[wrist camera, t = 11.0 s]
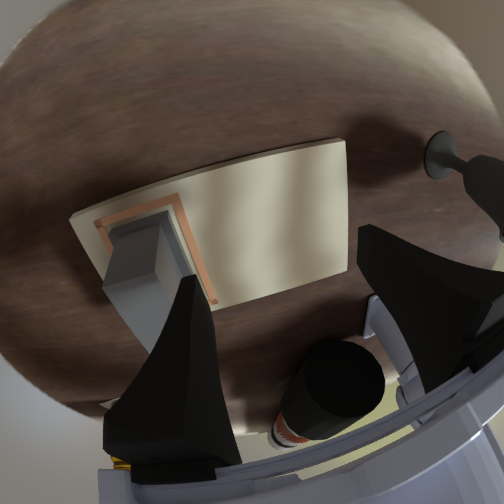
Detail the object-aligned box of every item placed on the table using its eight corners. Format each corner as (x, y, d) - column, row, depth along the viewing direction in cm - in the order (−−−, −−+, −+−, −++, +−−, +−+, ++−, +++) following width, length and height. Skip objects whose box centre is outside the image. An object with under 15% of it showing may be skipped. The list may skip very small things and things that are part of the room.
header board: (338, 137, 19) (377, 158, 15) (342, 264, 26) (367, 300, 22) (73, 213, 18) (48, 252, 14) (137, 321, 25) (134, 365, 21)
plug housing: (160, 223, 18) (154, 272, 14) (195, 304, 22) (201, 355, 18) (117, 237, 17) (101, 287, 13) (159, 313, 22) (158, 364, 18)
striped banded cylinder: (259, 416, 54) (246, 456, 46) (311, 330, 32) (295, 407, 25) (303, 427, 53) (293, 468, 45) (385, 350, 31) (383, 424, 24)
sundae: (420, 196, 23) (533, 299, 11) (414, 131, 19) (565, 221, 7) (461, 176, 23) (566, 258, 11) (459, 116, 19) (588, 187, 7)
